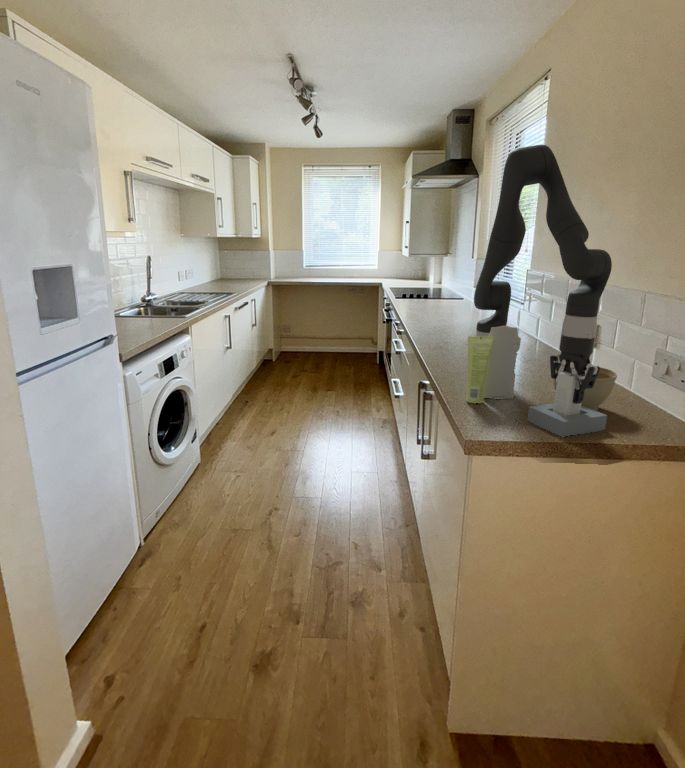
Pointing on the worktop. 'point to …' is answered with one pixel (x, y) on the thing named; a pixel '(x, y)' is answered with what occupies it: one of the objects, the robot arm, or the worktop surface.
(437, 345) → the worktop surface
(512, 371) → the tall pale column
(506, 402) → the worktop surface
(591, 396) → the planter bowl
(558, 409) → the skincare box
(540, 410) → the socket frame
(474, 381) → the tube
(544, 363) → the worktop surface
